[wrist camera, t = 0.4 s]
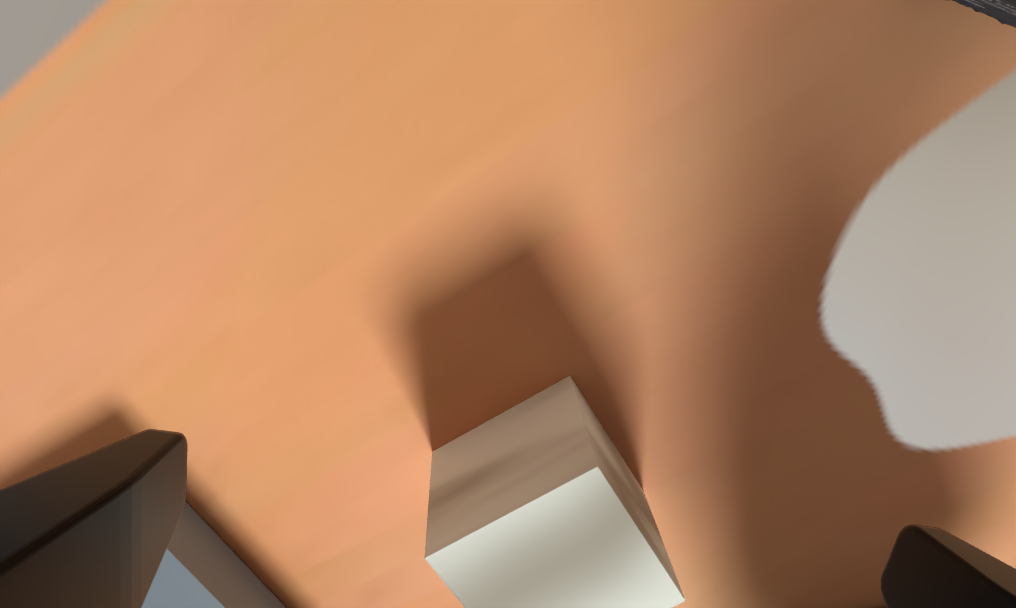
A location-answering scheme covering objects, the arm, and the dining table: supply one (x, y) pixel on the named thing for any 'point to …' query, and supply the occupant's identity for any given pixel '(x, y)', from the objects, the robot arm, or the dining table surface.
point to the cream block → (544, 514)
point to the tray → (204, 572)
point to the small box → (994, 9)
